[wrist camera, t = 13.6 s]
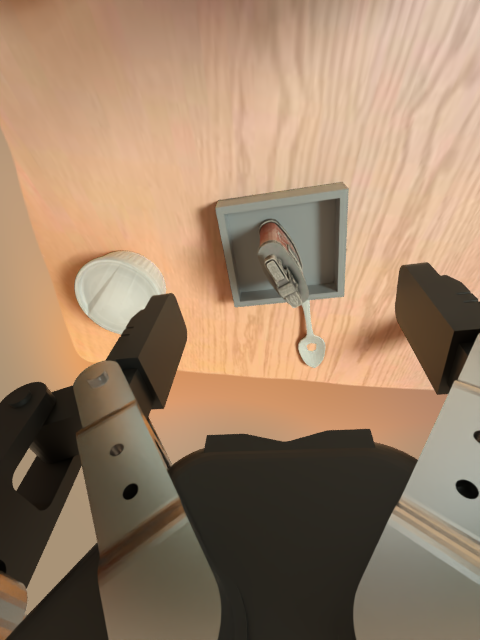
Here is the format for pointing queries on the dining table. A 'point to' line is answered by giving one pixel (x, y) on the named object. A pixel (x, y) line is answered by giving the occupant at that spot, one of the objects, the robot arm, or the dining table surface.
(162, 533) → the robot arm
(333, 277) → the tray
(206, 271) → the dining table surface
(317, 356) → the spoon
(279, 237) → the lighter
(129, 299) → the ramekin
